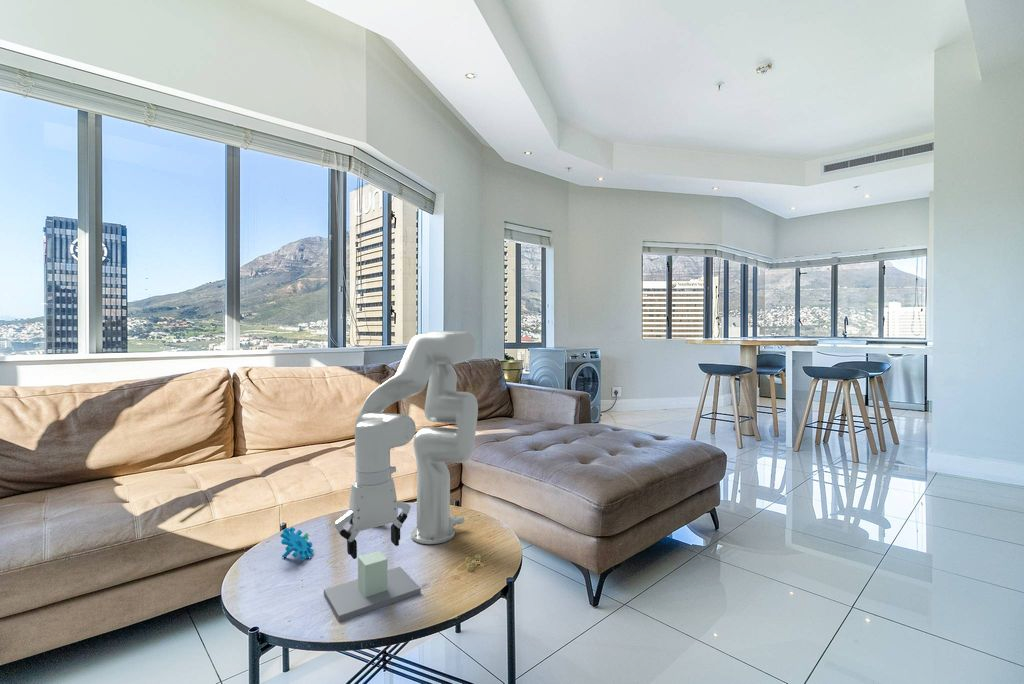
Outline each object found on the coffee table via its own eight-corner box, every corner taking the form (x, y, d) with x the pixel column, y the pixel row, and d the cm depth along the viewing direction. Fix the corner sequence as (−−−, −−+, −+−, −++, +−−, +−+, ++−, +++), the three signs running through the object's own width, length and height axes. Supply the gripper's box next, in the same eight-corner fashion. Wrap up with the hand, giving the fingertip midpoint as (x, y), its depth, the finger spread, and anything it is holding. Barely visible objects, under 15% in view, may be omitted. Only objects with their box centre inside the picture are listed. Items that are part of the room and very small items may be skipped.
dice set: (467, 574, 115) (467, 566, 115) (461, 564, 119) (461, 557, 119) (486, 570, 117) (487, 562, 117) (480, 561, 121) (480, 553, 121)
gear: (303, 561, 116) (277, 531, 117) (285, 578, 115) (260, 548, 117) (322, 547, 127) (299, 520, 128) (307, 563, 126) (283, 535, 128)
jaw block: (379, 580, 108) (379, 550, 108) (387, 590, 104) (387, 559, 104) (357, 587, 105) (358, 556, 105) (365, 597, 101) (365, 565, 101)
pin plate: (399, 571, 114) (400, 554, 114) (420, 593, 105) (420, 574, 105) (323, 594, 104) (323, 576, 104) (338, 621, 94) (338, 601, 94)
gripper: (403, 464, 112) (404, 533, 113) (328, 479, 102) (330, 554, 103) (415, 472, 106) (416, 545, 107) (338, 489, 96) (340, 569, 97)
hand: (374, 549), depth 105 cm, fingers open, 9 cm apart
